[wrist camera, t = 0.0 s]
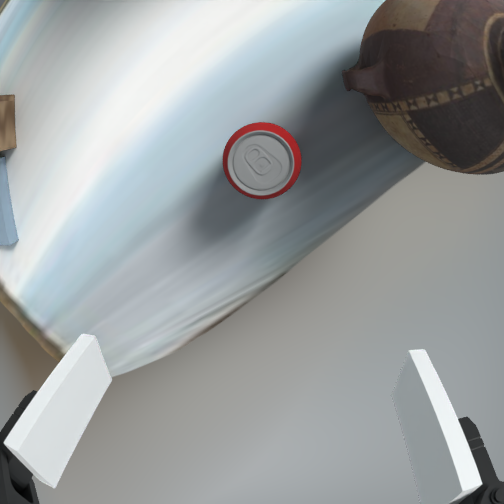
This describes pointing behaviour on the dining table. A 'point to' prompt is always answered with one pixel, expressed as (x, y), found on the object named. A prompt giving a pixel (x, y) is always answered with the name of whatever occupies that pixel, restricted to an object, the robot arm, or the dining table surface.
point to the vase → (437, 80)
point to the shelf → (7, 122)
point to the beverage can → (262, 160)
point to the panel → (6, 209)
